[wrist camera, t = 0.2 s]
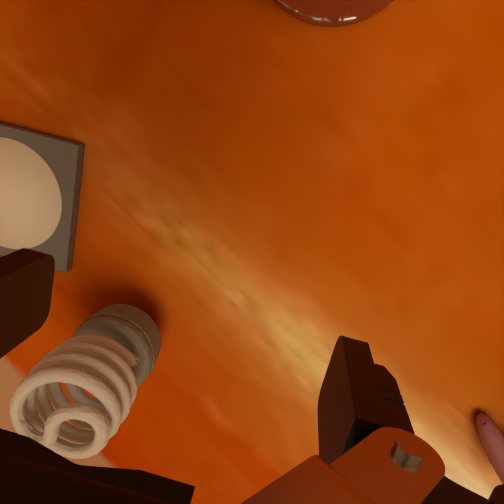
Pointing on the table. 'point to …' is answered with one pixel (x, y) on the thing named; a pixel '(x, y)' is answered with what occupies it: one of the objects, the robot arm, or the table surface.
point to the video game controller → (492, 443)
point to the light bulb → (87, 382)
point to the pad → (39, 193)
